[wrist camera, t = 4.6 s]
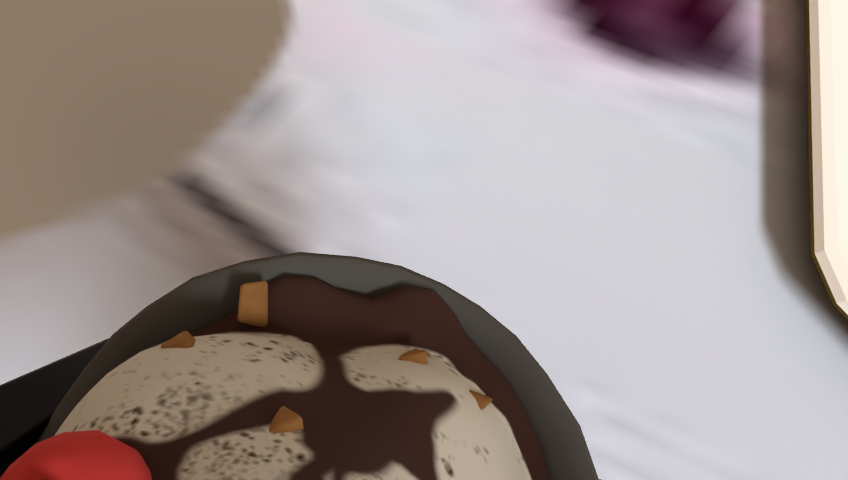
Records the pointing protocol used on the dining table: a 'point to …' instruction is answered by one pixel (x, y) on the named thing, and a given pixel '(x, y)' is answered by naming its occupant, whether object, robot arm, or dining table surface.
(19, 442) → the robot arm
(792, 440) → the dining table surface
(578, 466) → the sundae
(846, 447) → the dining table surface
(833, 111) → the plate
